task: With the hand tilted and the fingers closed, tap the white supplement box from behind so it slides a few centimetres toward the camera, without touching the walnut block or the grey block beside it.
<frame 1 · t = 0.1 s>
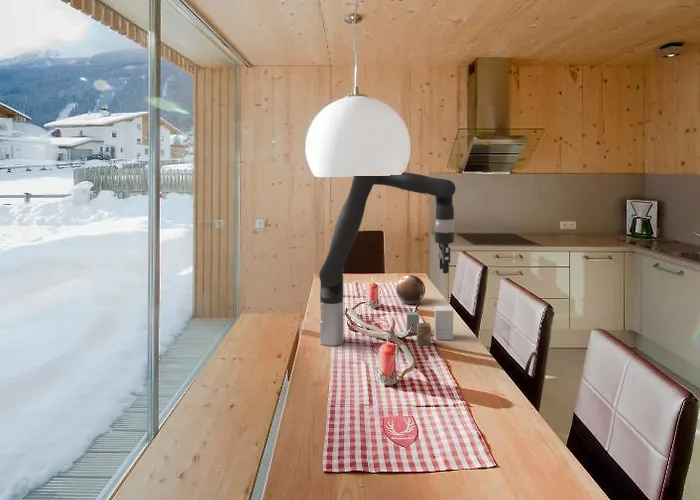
hand: (444, 271, 211), 29 cm above the table, tool pointing down, fingers open, 8 cm apart
wooden sphere: (410, 304, 278), on the table
walnut block: (423, 343, 213), on the table
supplement box: (443, 338, 221), on the table
grey block: (412, 331, 230), on the table
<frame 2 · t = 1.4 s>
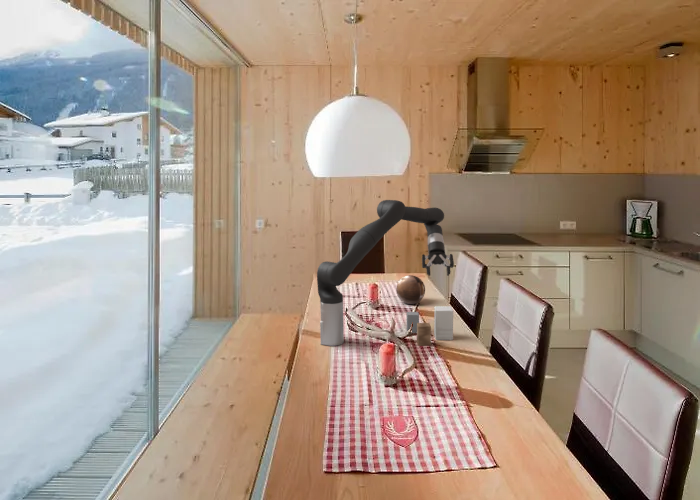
hand: (438, 274, 235), 23 cm above the table, tool tilted 45°, fingers open, 8 cm apart
nothing on the table moved.
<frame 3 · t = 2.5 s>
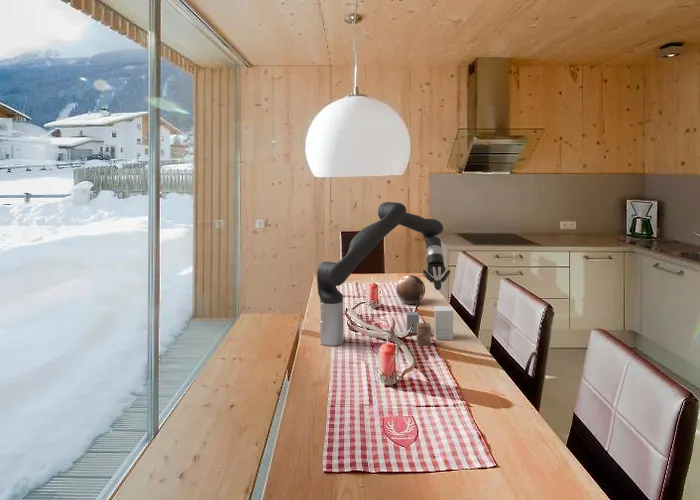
hand: (438, 289, 235), 17 cm above the table, tool tilted 45°, fingers closed
nothing on the table moved.
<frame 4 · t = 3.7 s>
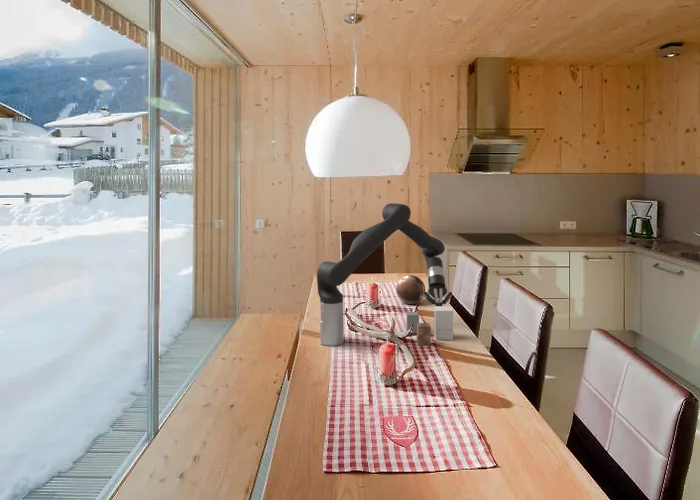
hand: (439, 311, 231), 8 cm above the table, tool tilted 45°, fingers closed
nothing on the table moved.
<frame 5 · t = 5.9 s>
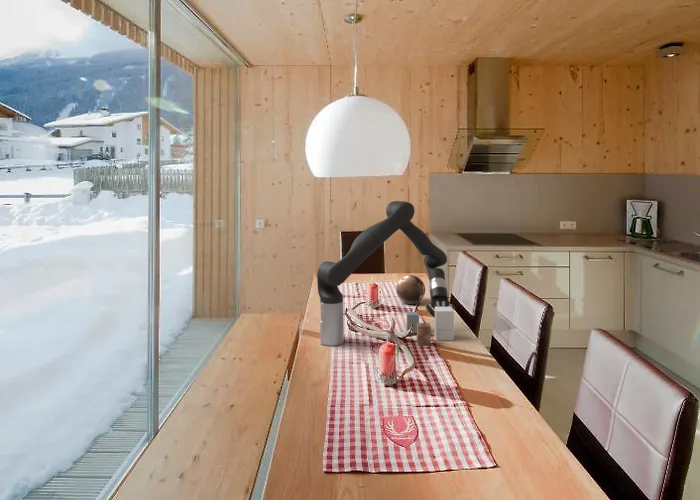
hand: (442, 325, 224), 4 cm above the table, tool tilted 45°, fingers closed
supplement box: (443, 338, 220), on the table, touching gripper
everything else where it was.
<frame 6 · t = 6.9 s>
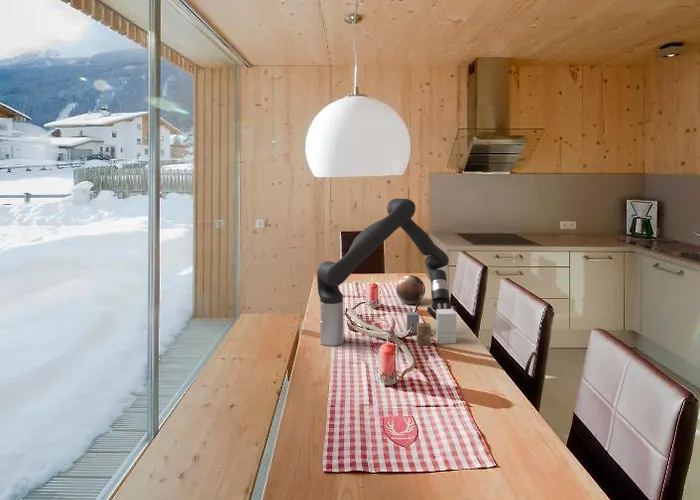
hand: (443, 327, 220), 4 cm above the table, tool tilted 45°, fingers closed
supplement box: (445, 341, 216), on the table, touching gripper
everything else where it was.
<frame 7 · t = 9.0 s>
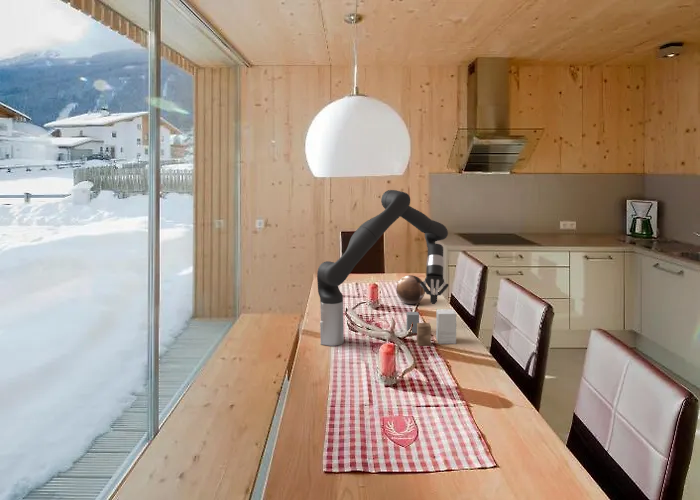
hand: (433, 303, 232), 11 cm above the table, tool tilted 30°, fingers closed
supplement box: (445, 341, 216), on the table
everything else where it was.
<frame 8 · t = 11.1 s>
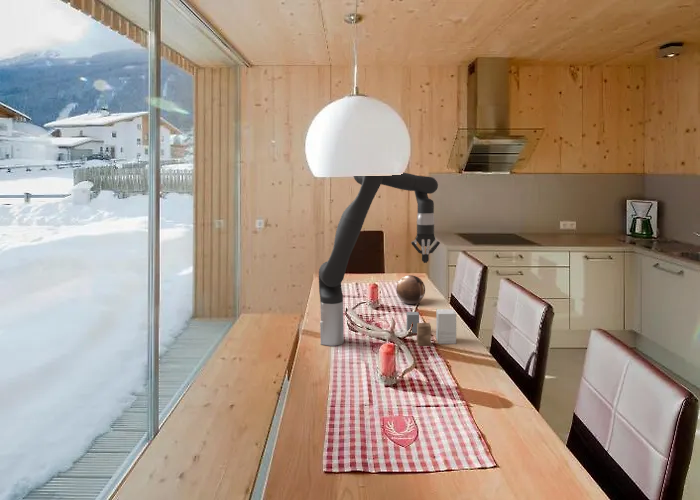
hand: (425, 262, 233), 29 cm above the table, tool pointing down, fingers closed
nothing on the table moved.
at the end: supplement box moved 4.8 cm from its start; walnut block moved 0.1 cm from its start; grey block moved 0.1 cm from its start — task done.
